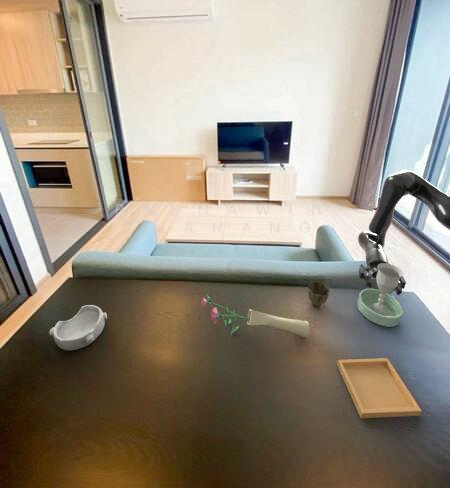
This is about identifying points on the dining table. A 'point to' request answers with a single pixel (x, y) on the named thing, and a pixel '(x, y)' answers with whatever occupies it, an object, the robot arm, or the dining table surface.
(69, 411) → the dining table surface
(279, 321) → the flower vase
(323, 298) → the cup
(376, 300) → the bowl
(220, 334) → the dining table surface
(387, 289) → the chalice
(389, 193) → the robot arm
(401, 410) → the tray
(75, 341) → the dish
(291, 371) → the dining table surface
